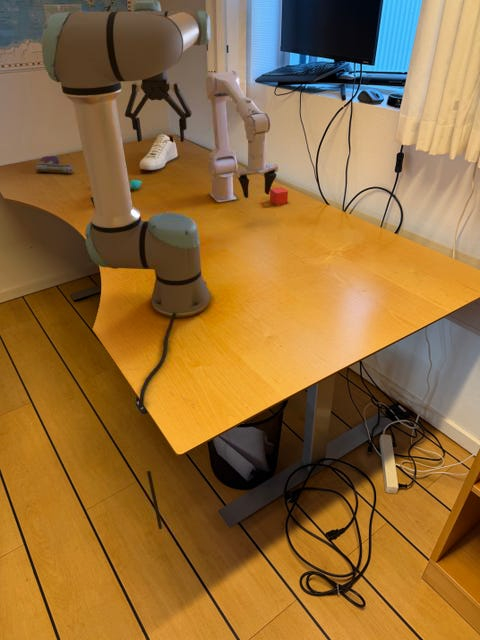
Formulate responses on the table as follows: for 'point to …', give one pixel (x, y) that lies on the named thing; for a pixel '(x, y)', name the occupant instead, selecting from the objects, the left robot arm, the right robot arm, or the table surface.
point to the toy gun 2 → (132, 184)
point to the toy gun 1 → (53, 165)
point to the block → (278, 195)
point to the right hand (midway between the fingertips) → (256, 195)
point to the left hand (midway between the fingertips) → (161, 140)
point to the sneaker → (160, 153)
